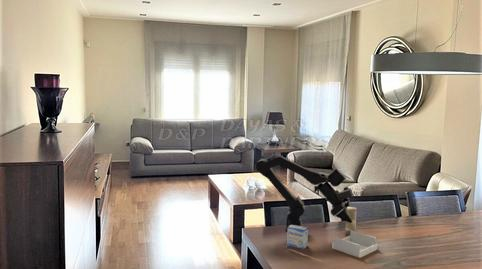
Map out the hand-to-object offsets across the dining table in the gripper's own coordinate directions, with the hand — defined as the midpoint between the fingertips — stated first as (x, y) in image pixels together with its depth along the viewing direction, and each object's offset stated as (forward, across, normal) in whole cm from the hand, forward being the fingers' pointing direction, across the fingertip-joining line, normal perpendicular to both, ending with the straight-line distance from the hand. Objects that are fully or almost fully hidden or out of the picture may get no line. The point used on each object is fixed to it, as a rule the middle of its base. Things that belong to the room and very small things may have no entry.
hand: (352, 219), depth 189 cm
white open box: (+8, -17, +3) cm, 19 cm away
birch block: (+5, 0, +6) cm, 8 cm away
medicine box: (-8, -23, +20) cm, 31 cm away
